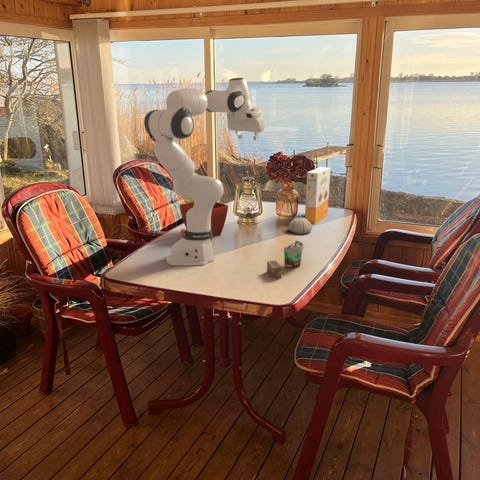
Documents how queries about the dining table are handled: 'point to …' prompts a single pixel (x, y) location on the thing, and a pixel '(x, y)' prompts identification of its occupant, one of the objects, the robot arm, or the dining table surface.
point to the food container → (293, 255)
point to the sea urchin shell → (300, 226)
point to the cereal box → (317, 194)
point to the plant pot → (216, 216)
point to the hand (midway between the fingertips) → (248, 139)
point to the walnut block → (274, 269)
